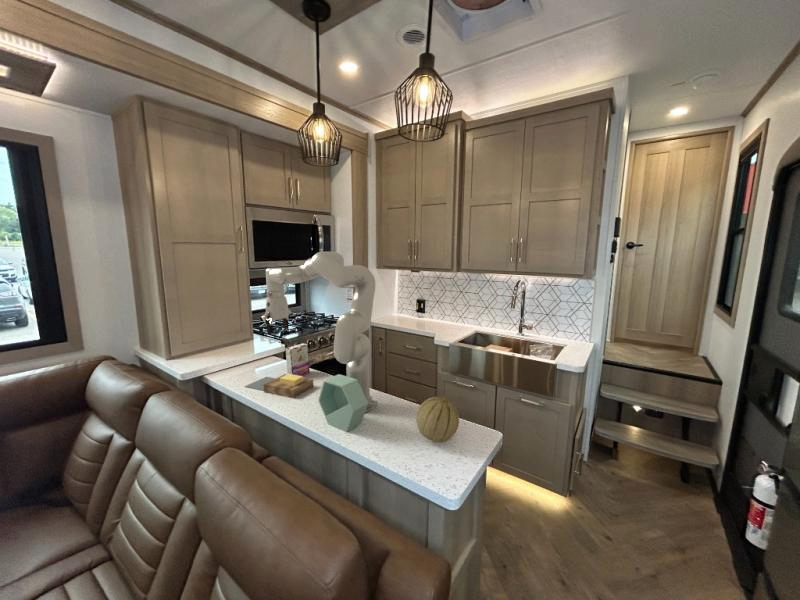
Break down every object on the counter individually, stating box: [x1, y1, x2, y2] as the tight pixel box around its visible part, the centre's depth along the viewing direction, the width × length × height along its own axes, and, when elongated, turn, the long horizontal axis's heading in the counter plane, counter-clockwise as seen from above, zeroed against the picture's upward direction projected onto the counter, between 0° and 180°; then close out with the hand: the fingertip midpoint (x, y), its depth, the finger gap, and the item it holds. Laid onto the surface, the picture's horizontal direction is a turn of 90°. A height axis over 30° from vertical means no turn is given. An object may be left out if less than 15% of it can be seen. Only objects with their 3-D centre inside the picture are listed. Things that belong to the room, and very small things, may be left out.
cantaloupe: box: [415, 396, 460, 443], centre depth 113 cm, size 15×15×15 cm
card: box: [280, 373, 304, 386], centre depth 157 cm, size 9×6×2 cm, turn 66°
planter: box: [317, 373, 368, 433], centre depth 124 cm, size 17×8×21 cm
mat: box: [244, 376, 277, 392], centre depth 165 cm, size 14×14×1 cm
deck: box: [263, 373, 314, 399], centre depth 158 cm, size 18×14×4 cm
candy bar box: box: [285, 343, 310, 376], centre depth 176 cm, size 11×5×16 cm, turn 143°
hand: (278, 330), depth 153 cm, fingers open, 9 cm apart
